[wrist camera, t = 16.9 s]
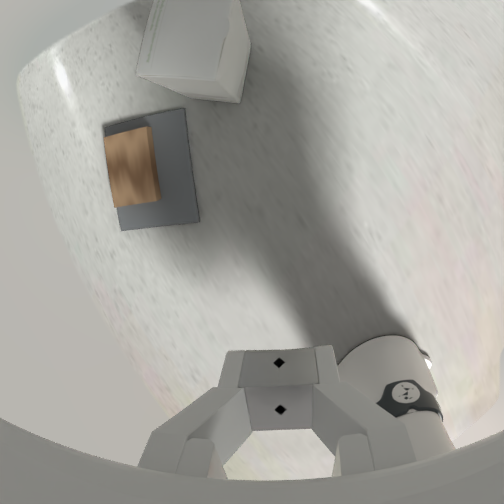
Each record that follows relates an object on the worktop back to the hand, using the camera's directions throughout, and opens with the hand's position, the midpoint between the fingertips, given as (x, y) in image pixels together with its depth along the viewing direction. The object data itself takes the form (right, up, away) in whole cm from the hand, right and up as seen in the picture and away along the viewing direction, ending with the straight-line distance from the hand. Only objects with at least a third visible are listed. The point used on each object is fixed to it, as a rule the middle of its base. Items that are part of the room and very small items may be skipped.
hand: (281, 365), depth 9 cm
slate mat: (-13, +13, +27) cm, 33 cm away
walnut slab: (-12, +14, +25) cm, 31 cm away
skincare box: (-4, +24, +23) cm, 33 cm away
